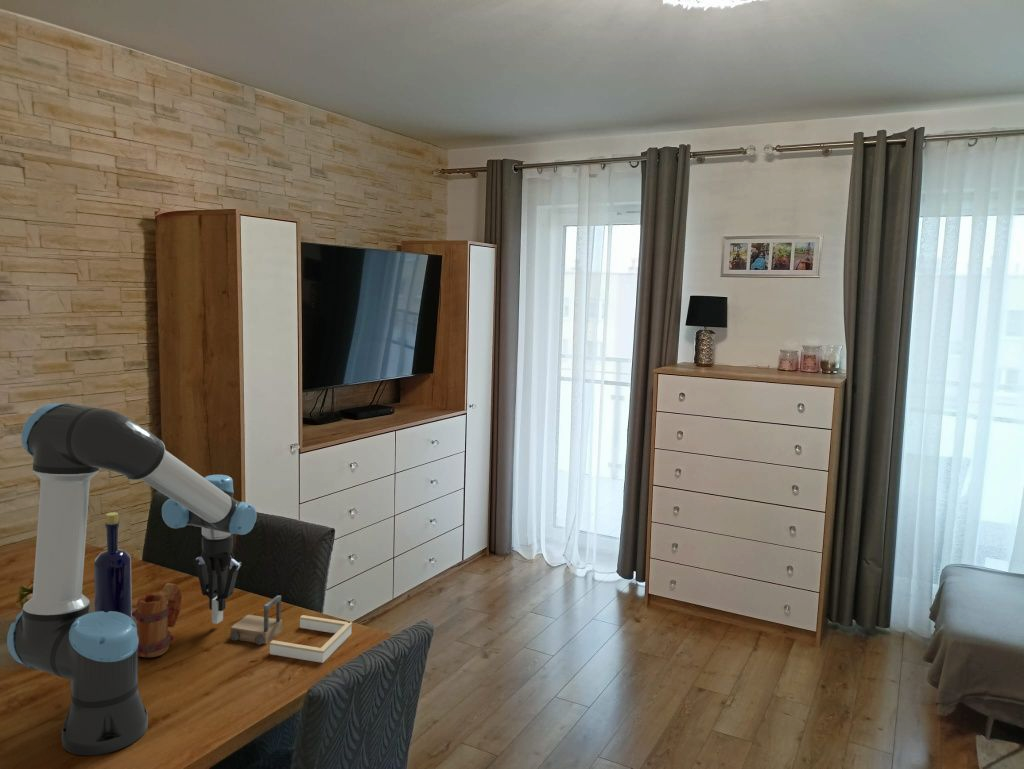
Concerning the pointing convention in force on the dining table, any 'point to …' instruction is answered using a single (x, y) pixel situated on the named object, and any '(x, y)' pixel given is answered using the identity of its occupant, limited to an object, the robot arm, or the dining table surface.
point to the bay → (309, 652)
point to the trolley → (259, 625)
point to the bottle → (113, 573)
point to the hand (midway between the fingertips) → (217, 621)
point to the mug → (157, 620)
